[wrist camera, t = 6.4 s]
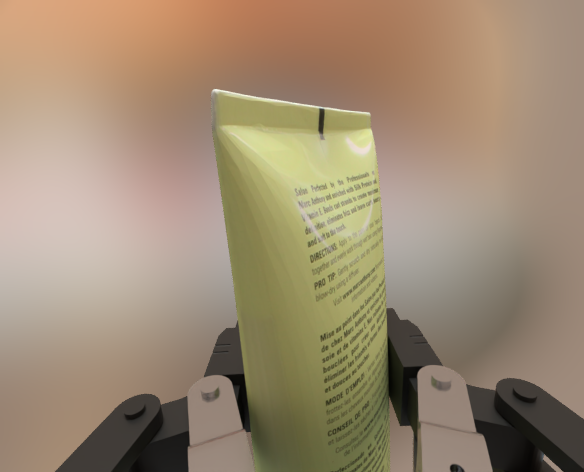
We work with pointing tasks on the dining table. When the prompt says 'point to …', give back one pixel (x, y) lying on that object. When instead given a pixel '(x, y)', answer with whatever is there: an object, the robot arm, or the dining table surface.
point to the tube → (306, 281)
